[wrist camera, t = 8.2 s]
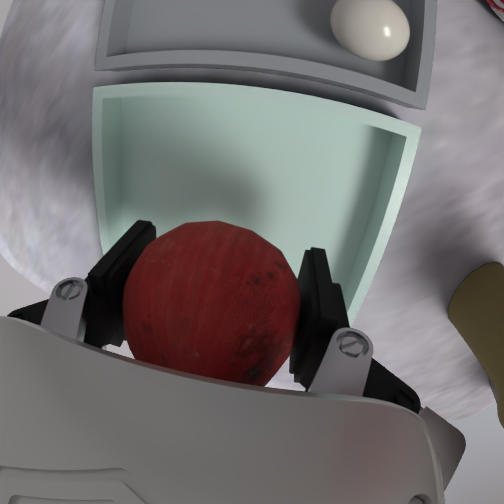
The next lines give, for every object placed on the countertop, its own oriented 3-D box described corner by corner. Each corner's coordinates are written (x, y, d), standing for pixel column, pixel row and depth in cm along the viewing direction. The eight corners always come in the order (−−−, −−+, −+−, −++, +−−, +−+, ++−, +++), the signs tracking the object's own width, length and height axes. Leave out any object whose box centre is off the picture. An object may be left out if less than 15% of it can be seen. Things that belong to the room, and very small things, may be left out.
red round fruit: (296, 185, 11) (314, 364, 4) (297, 302, 13) (296, 466, 7) (155, 194, 11) (27, 331, 4) (182, 301, 14) (125, 442, 7)
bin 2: (115, 86, 11) (93, 87, 9) (403, 122, 11) (421, 127, 9) (129, 303, 19) (117, 322, 17) (330, 338, 18) (333, 360, 17)
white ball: (328, -4, 8) (341, -31, 5) (395, 16, 8) (425, -1, 5) (320, 54, 10) (333, 40, 7) (388, 73, 10) (419, 69, 7)
